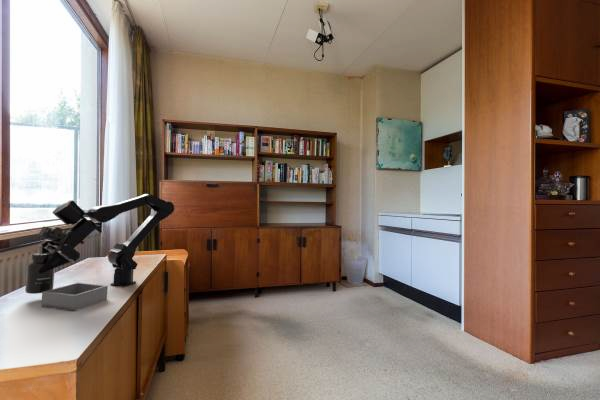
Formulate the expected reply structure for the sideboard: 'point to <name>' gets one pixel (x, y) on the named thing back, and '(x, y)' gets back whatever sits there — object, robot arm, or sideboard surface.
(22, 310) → the sideboard surface
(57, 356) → the sideboard surface
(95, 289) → the open box
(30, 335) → the sideboard surface
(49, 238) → the robot arm
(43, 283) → the supplement bottle
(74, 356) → the sideboard surface
